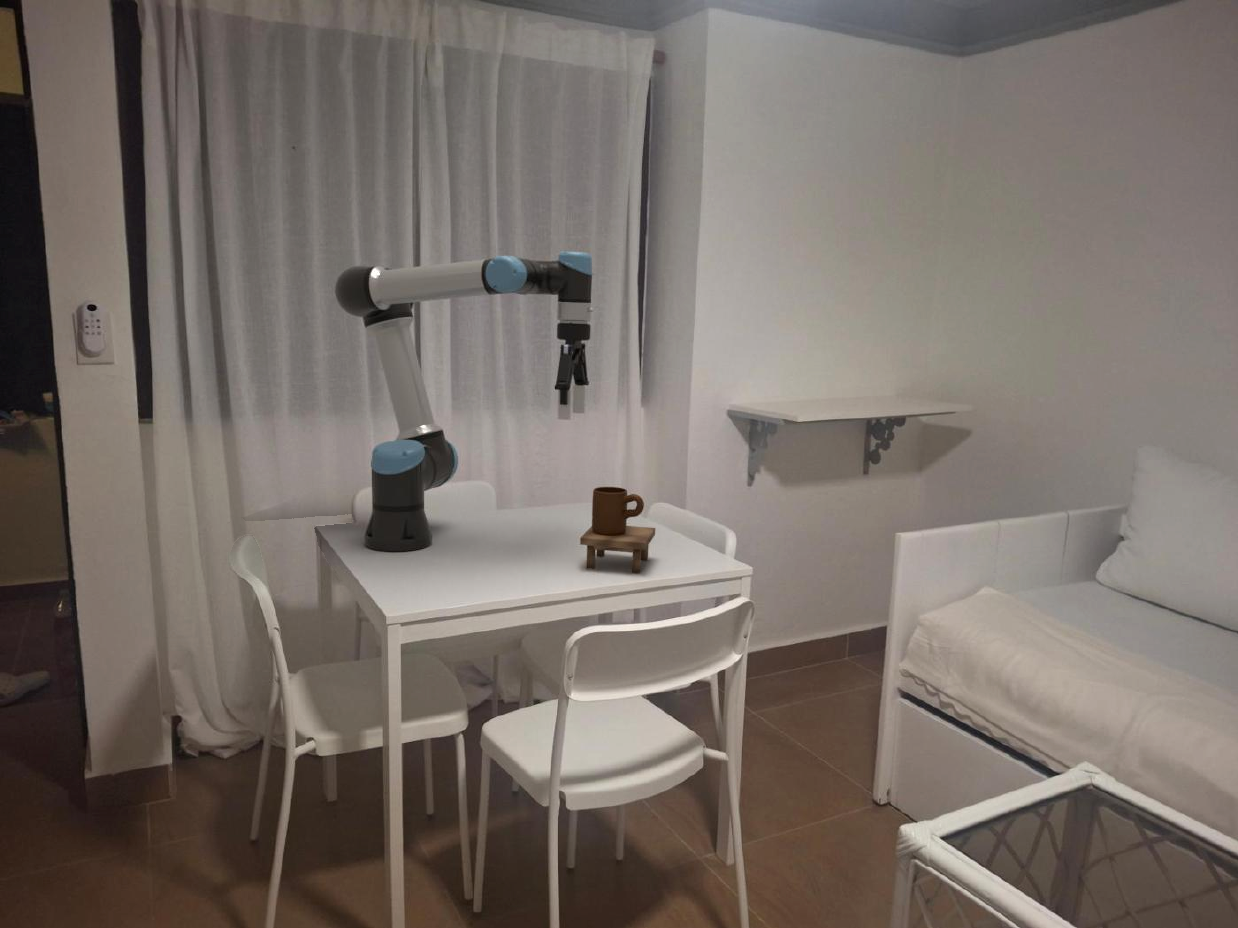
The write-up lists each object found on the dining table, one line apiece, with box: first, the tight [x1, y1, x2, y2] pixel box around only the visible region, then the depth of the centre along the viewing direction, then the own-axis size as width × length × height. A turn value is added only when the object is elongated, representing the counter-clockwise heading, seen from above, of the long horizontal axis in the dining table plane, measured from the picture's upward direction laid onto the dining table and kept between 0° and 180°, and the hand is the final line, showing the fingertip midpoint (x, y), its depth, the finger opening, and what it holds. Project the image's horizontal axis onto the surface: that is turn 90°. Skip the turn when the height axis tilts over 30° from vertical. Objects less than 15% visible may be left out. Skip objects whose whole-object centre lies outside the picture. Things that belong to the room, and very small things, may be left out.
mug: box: [591, 486, 645, 535], centre depth 196 cm, size 12×8×9 cm, turn 62°
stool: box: [579, 525, 656, 574], centre depth 198 cm, size 14×14×7 cm
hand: (571, 416), depth 207 cm, fingers open, 13 cm apart
